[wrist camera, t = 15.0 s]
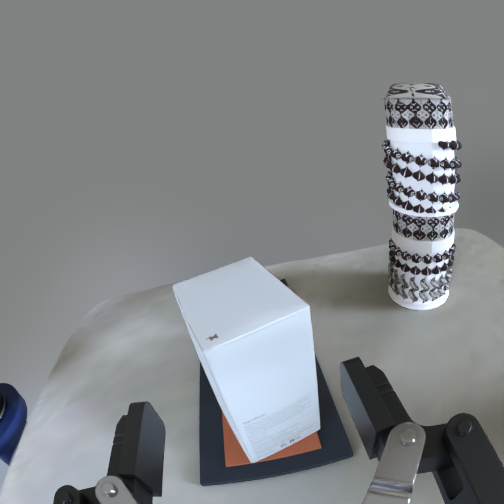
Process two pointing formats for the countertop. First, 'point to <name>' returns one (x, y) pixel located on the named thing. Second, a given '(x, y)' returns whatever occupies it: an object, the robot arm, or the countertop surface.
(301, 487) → the countertop surface
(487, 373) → the countertop surface
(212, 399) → the word mat
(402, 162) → the decorative candle
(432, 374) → the countertop surface
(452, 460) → the robot arm
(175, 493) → the countertop surface
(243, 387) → the small box
